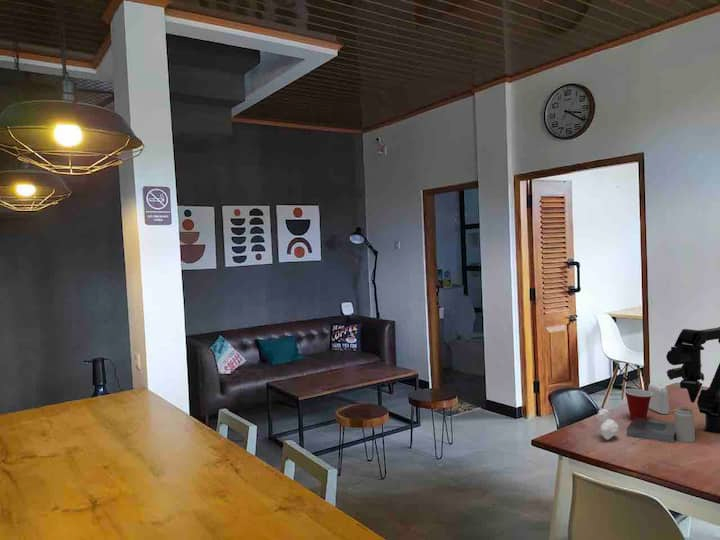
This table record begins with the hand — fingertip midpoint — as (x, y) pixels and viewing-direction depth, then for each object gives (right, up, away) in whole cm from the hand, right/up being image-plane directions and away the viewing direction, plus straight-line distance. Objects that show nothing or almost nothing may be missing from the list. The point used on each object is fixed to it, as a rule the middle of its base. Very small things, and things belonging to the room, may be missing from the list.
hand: (692, 402), depth 210 cm
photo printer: (+4, -12, +32) cm, 34 cm away
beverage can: (-5, -14, -4) cm, 16 cm away
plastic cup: (-9, -13, +22) cm, 27 cm away
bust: (-32, -15, +2) cm, 35 cm away
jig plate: (-13, -13, +4) cm, 19 cm away
